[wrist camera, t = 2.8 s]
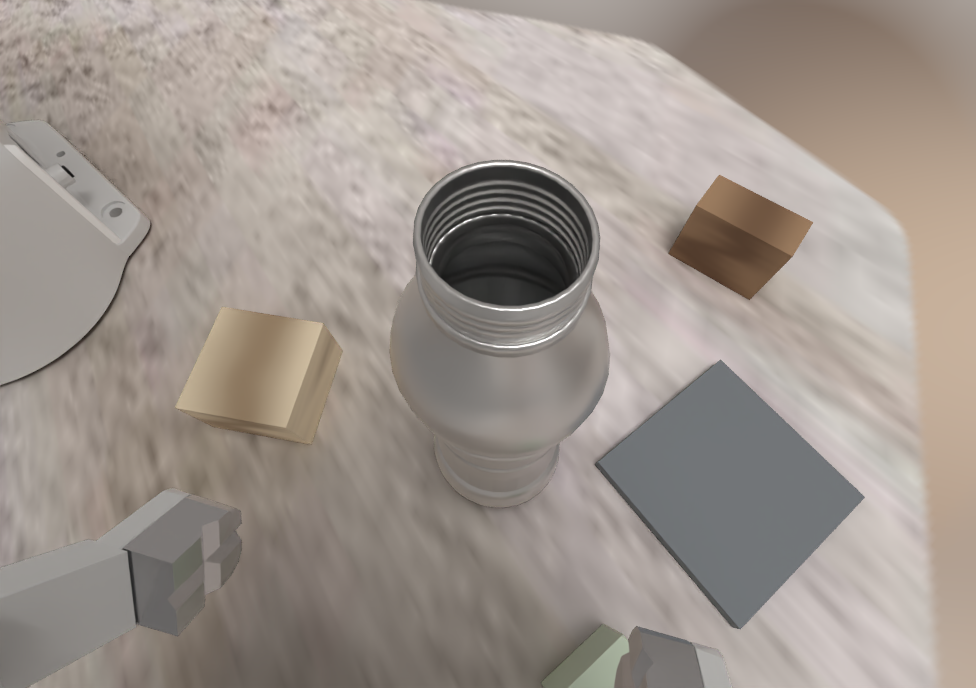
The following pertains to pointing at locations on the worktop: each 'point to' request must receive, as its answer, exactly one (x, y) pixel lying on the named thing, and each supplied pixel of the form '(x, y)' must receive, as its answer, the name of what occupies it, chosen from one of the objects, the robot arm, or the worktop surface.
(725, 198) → the walnut brick
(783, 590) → the worktop surface
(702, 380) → the mat
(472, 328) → the plastic bottle
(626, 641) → the sage brick
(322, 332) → the beech brick
